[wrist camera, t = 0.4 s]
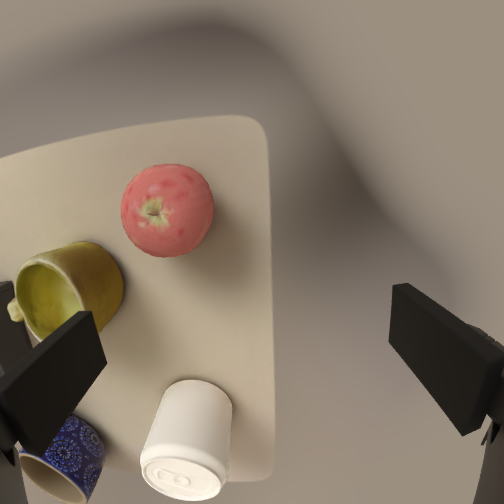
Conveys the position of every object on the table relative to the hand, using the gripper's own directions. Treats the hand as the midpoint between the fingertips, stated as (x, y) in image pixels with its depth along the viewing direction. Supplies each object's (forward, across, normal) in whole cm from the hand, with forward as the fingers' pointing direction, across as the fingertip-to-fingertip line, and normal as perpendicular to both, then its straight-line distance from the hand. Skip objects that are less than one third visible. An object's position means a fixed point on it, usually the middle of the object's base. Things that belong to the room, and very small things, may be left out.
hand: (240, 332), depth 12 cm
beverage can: (+17, -7, -18) cm, 25 cm away
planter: (+17, -27, -25) cm, 41 cm away
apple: (+17, -6, +4) cm, 19 cm away
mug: (+17, -18, -2) cm, 25 cm away
